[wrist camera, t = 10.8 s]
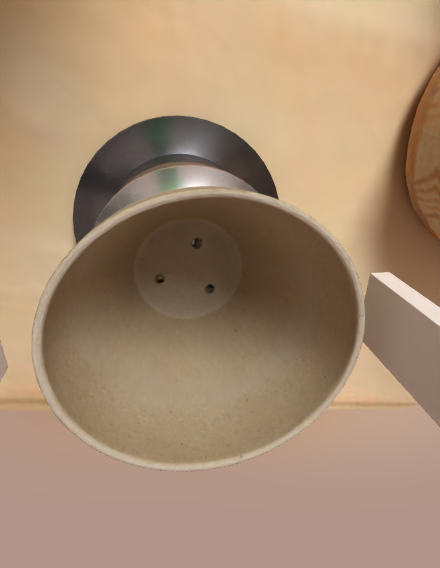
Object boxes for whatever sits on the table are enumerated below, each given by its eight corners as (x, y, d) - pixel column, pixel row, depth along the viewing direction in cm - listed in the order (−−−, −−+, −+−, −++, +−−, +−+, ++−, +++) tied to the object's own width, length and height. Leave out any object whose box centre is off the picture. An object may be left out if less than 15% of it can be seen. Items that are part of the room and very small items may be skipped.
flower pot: (214, 379, 21) (242, 501, 14) (39, 299, 17) (-30, 415, 11) (331, 235, 18) (429, 306, 12) (153, 102, 14) (154, 98, 8)
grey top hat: (44, 263, 24) (1, 325, 17) (131, 67, 20) (120, 46, 13) (214, 334, 28) (234, 405, 22) (312, 185, 25) (372, 214, 18)
